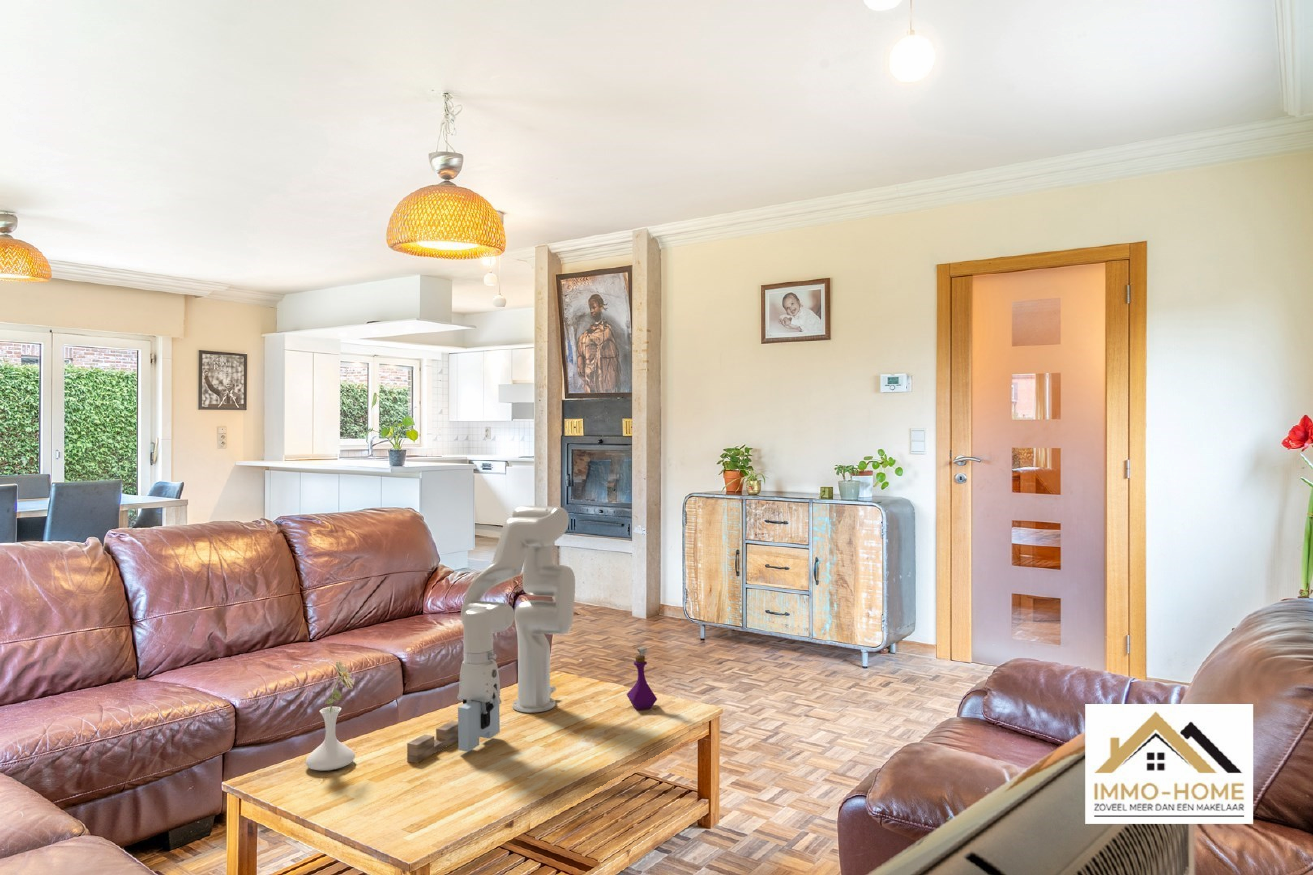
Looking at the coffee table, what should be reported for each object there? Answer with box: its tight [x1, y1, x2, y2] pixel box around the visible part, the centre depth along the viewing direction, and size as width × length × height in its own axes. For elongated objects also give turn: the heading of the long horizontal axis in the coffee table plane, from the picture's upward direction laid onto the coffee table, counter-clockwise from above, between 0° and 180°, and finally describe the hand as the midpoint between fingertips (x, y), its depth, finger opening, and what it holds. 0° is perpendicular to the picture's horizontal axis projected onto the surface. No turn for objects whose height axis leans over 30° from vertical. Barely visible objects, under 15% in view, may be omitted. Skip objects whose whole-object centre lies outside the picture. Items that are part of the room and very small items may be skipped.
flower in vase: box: [304, 660, 356, 771], centre depth 206 cm, size 13×11×25 cm
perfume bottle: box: [626, 647, 658, 711], centre depth 250 cm, size 8×8×18 cm
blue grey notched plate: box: [457, 698, 501, 752], centre depth 219 cm, size 3×14×11 cm, turn 157°
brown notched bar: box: [406, 720, 458, 764], centre depth 216 cm, size 18×3×4 cm, turn 157°
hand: (479, 725), depth 219 cm, fingers closed on blue grey notched plate, 3 cm apart
